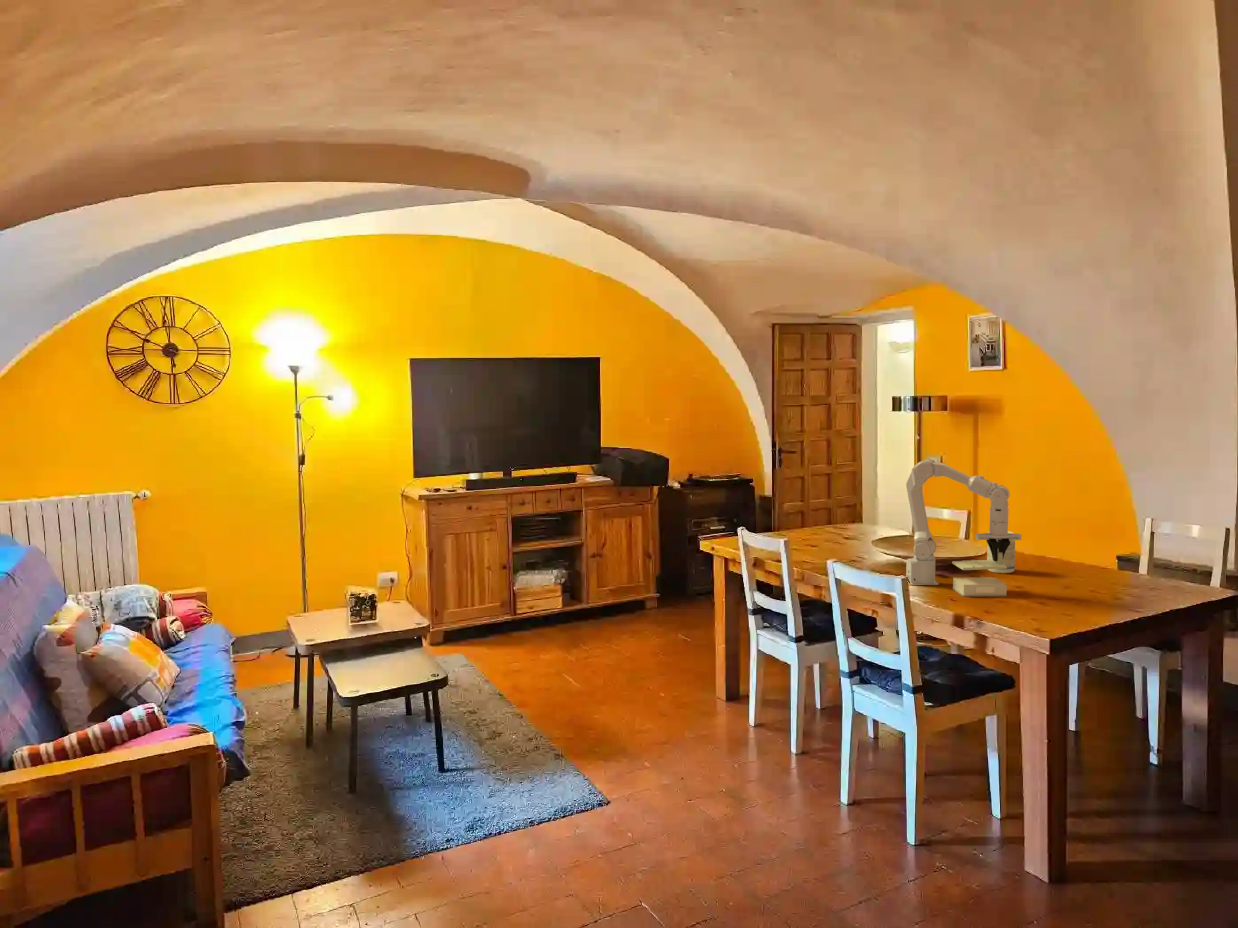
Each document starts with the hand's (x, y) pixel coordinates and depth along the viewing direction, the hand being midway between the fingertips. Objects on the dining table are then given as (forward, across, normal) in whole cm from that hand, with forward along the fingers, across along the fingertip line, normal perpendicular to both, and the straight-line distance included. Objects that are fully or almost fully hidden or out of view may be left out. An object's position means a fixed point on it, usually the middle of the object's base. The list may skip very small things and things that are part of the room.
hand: (997, 560), depth 282 cm
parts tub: (+10, -7, -3) cm, 13 cm away
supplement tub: (+11, +13, +29) cm, 34 cm away
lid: (+2, -6, 0) cm, 6 cm away
